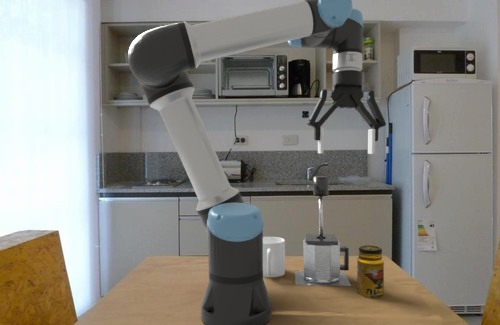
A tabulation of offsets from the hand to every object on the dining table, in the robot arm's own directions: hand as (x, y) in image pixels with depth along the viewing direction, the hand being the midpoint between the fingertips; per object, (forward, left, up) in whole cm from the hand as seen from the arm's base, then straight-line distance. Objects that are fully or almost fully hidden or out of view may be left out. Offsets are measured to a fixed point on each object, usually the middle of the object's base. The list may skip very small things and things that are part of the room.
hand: (346, 153), depth 96 cm
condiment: (+4, -7, -35) cm, 36 cm away
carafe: (-5, +2, -34) cm, 34 cm away
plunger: (-6, +2, -25) cm, 26 cm away
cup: (-20, +4, -35) cm, 40 cm away
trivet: (-6, +2, -34) cm, 35 cm away
